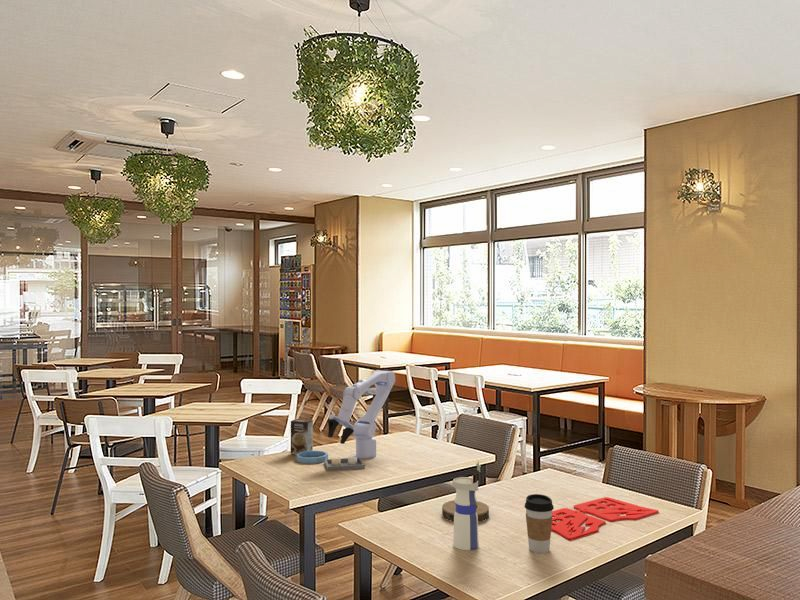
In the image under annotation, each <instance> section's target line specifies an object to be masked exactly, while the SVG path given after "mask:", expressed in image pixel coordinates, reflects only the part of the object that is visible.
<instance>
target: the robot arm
mask: <svg viewBox="0 0 800 600" xmlns="http://www.w3.org/2000/svg"><path fill="white" fill-rule="evenodd" d="M395 383H396V374H395V372H394V371H393V370H380V369H376V370H374V371H373V372H372V374H371V375H369V376H368V377H367V378H366V379H359V380H358V381H357V382H356V383H354V384H352V386H347V387H345V389H343V397H342V403H341V405H340V409H339V412H338V414H337V415H334V414H329V417H328V420H327V424H328V433H327V437H328V438H332V437H333V436H334V434H335V431H336V429H337V428H338V427H337V426H338V425H340V426H343V427H345V428H342V434H341V438H340V442H339V443H340V444H342V445H345V443H346V442H347V440H348V439H349V437H350V436H351V435H353V436H354V438H355V453H354V454H353V456H354V457H357V458H361V459H367V458H368V459H369V458H377V439H376V437H374V436H375V434H376V429H377V428H378V425H377V423H376V422H375V421H376V419H377V418H378V415H379V413H380V411H381V409H382V407H383V406H384V404H385V402H386V400H387V399H388V396H389V395H390V393H391V391H392V389H393V386H394V385H395ZM373 385H374V386H375V389H376V390H377V392H376V394H375V396H374V397H373V399H372V401H371V403H370V405H369V407H368V409H367V410H366V411H365V414H364V416H362V417H360V418H358V419H357V421H355V423H354V424H352V423H351V422H350V421H351V418H352V415H353V412H354V409H355V406H356V404H357V400H360V399H361V397H362V395H363V394H365V393H366V392H368V391H369V390H370V387H371V386H373Z"/></svg>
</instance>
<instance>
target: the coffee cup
mask: <svg viewBox="0 0 800 600" xmlns="http://www.w3.org/2000/svg"><path fill="white" fill-rule="evenodd" d="M524 508H525V512H526V513H525V519H526V520H525V522H526V530H527V531H526V532H527V541H528V542H527V543H528V550H529V551H531V552H533V553H536V554H546V553H548V552H549V551H550V548H551V545H550V544H551V537H552V536H551V535H552V531H551V527H552V511H554V509H555V508H554V505H553V500H552V498H551V497H549V496H548V495H546V494H545V495H544V494H540V493H539V494H538V493H535V494H528V495H527V496H526V499H525V502H524Z"/></svg>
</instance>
